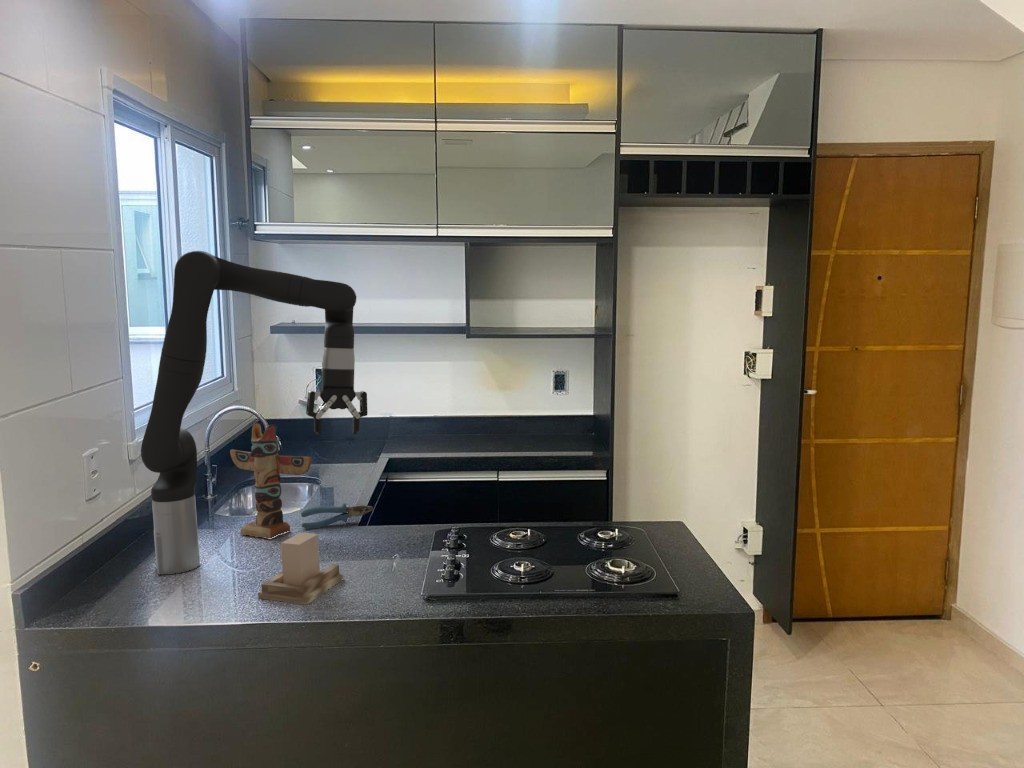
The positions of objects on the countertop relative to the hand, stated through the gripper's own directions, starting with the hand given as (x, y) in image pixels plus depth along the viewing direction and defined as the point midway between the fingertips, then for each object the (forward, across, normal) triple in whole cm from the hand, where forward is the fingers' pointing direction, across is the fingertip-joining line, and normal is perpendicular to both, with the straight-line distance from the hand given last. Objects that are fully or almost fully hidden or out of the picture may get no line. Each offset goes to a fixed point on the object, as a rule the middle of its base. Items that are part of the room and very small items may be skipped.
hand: (336, 434), depth 170 cm
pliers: (+29, +8, +26) cm, 40 cm away
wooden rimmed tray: (+32, -10, -15) cm, 37 cm away
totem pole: (+31, -12, +29) cm, 44 cm away
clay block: (+30, -10, -15) cm, 36 cm away
